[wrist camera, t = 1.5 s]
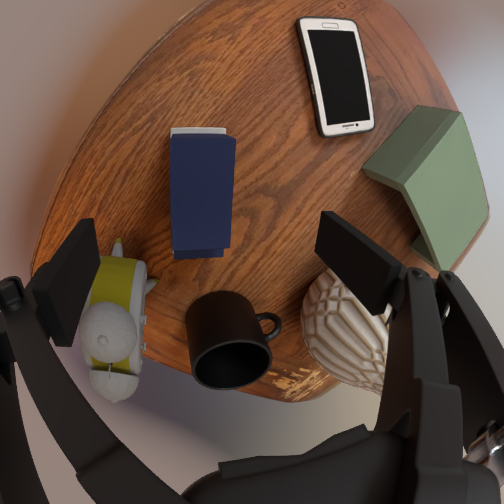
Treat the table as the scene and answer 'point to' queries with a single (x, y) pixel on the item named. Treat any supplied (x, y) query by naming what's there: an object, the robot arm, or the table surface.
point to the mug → (228, 341)
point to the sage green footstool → (434, 181)
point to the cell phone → (337, 75)
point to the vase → (344, 334)
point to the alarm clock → (115, 324)
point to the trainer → (201, 191)
